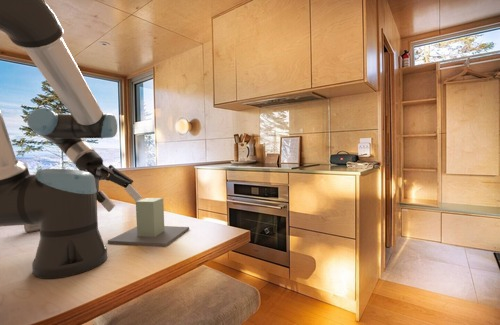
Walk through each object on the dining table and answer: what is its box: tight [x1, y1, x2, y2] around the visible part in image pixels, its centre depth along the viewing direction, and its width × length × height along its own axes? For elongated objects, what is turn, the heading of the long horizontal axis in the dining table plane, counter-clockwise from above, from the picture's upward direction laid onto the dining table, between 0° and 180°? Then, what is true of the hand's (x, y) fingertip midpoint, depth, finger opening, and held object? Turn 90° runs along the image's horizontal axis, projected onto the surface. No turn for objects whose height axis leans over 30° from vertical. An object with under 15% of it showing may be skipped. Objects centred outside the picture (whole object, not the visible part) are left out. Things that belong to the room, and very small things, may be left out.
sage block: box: [135, 197, 165, 237], centre depth 84 cm, size 6×6×11 cm
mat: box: [107, 225, 190, 247], centre depth 85 cm, size 16×19×1 cm
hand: (126, 204), depth 86 cm, fingers open, 13 cm apart
